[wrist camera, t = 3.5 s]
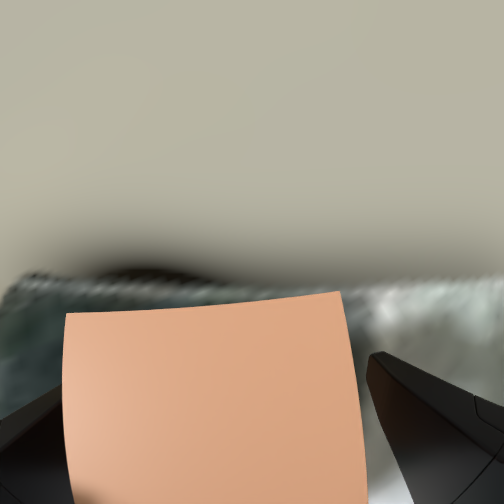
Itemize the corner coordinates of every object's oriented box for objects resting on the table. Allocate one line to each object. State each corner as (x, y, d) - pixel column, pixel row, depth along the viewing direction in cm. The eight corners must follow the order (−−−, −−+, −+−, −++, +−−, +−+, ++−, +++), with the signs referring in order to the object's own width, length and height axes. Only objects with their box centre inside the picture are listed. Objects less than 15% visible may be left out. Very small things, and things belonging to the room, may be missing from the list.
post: (299, 454, 12) (368, 555, 2) (201, 461, 12) (87, 549, 2) (288, 365, 14) (339, 291, 5) (194, 373, 14) (66, 313, 5)
